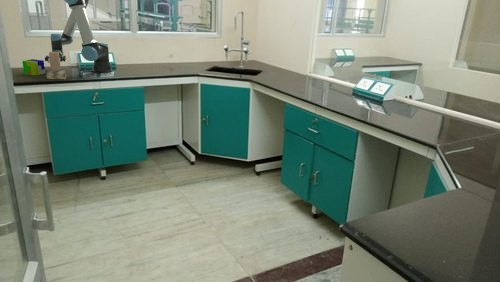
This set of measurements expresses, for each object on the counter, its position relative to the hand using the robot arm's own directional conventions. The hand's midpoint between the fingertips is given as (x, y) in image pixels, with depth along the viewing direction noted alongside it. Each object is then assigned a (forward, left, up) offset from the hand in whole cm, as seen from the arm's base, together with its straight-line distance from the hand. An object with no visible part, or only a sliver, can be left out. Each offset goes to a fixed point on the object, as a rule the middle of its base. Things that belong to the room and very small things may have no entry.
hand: (54, 61), depth 270 cm
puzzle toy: (+16, -22, -13) cm, 30 cm away
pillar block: (0, -5, -7) cm, 8 cm away
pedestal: (0, -5, -13) cm, 14 cm away
